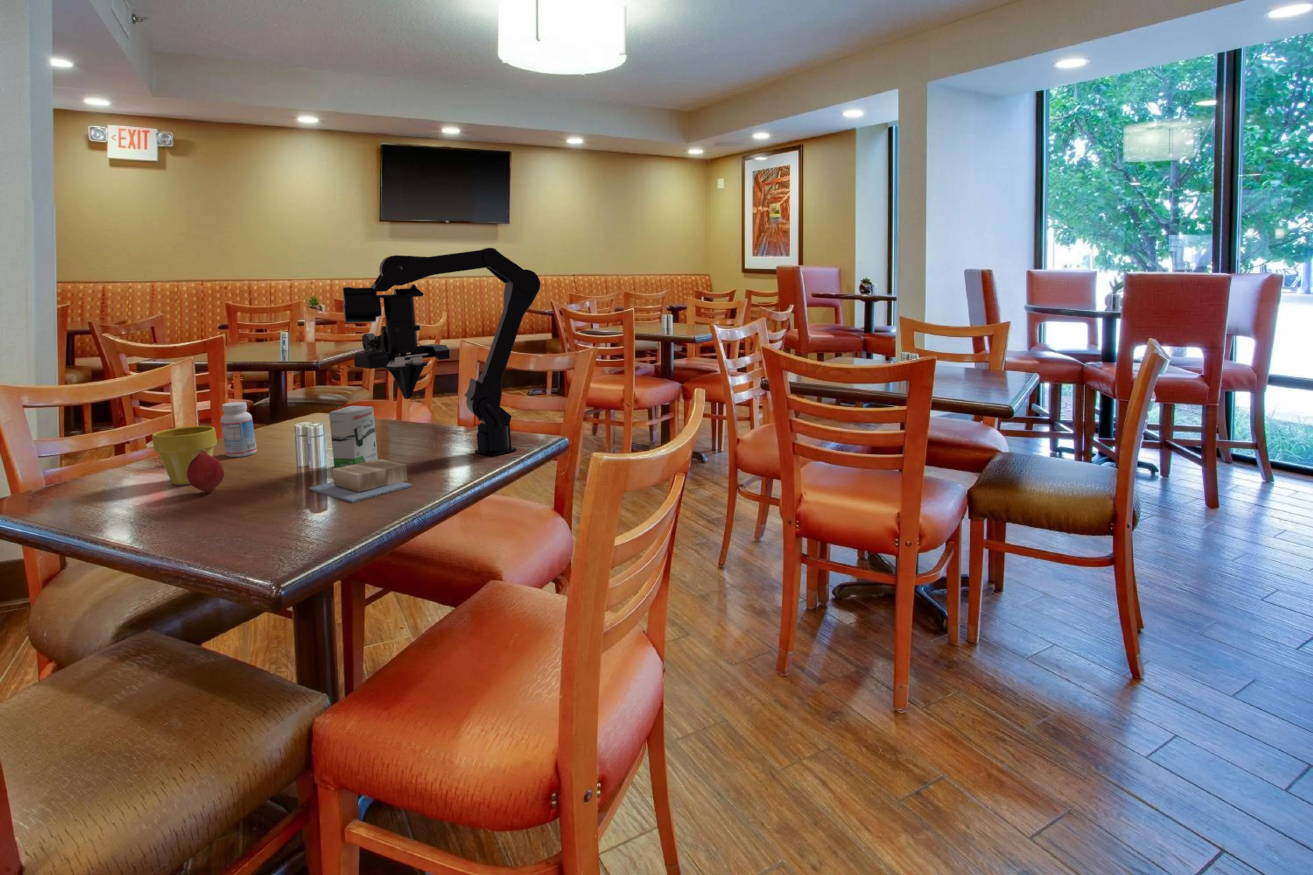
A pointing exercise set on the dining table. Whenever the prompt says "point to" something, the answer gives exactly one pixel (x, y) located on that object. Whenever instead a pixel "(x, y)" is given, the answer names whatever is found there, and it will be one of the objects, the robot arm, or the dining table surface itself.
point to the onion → (205, 472)
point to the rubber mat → (354, 495)
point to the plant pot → (183, 448)
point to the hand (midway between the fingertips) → (407, 398)
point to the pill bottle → (238, 430)
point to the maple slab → (370, 475)
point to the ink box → (353, 435)
